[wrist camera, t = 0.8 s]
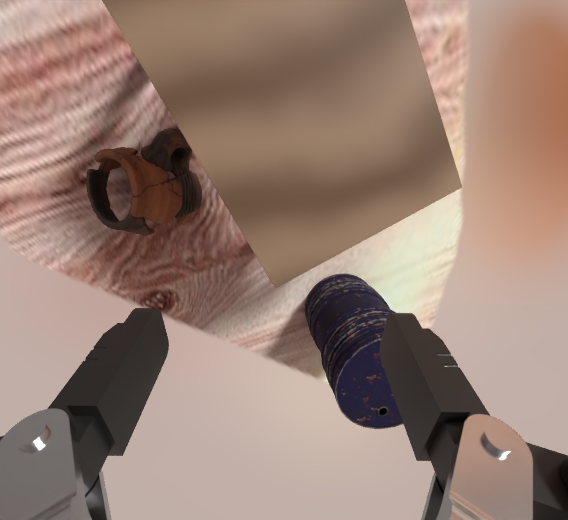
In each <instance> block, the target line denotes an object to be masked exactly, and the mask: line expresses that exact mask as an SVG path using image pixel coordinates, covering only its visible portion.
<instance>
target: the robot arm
mask: <svg viewBox="0 0 568 520" xmlns="http://www.w3.org/2000/svg"><path fill="white" fill-rule="evenodd" d="M168 347H169V342H168V337H167V333H166V329H165V325H164V321H163V317H162V314H161V311H160V310H159V309H156V308H135V309H134V310H133V311H132V312H131V314H130V315H129V316H128V318H127V319H126V321H125V322H124V323H117V324H116V325H115V326H113V327H112V328H111V329H110V330H108V331H107V332H106V333H104V334H103V335H102V337H101V338H100V340H99V341H98V342H97V343H96V345H95V346H94V349H93V350H91V352H90V353H89V354H88V356H87V357H86V360H85V361H83V362H82V364H81V365H80V366H79V368H78V369H77V370H76V372H75V373H74V374H73V376H72V377H71V378H70V380H69V381H68V382H67V384H66V385H65V386H64V388H63V389H62V390H61V392H60V393H59V394H58V396H57V397H56V399H55V400H54V401H53V402H52V404H51V405H50V406H49V407H48V409H45V410H42V411H39V412H36V413H34V414H32V415H30V416H28V417H26V418H25V419H23V420H21V421H20V422H19V423H17V424H16V425H15V426H14V427H12V428H11V429H10V430H9V431H8V432H7V433H6V434H5V436H2V437H0V520H111V515H110V510H109V504H108V499H107V493H106V488H105V482H104V477H103V473H102V470H101V468H102V466H103V464H104V462H105V460H106V458H107V456H109V455H110V456H111V455H112V456H123V454H124V451H125V449H126V447H127V445H128V442H129V440H130V438H131V435H132V433H133V431H134V429H135V427H136V424H137V422H138V420H139V418H140V416H141V413H142V411H143V409H144V406H145V404H146V402H147V399H148V397H149V395H150V393H151V391H152V389H153V386H154V384H155V382H156V380H157V377H158V375H159V373H160V371H161V368H162V366H163V364H164V361H165V359H166V357H167V353H168ZM380 358H381V362H382V365H383V368H384V370H385V373H386V376H387V379H388V382H389V384H390V387H391V390H392V393H393V395H394V398H395V401H396V404H397V407H398V409H399V412H400V415H401V418H402V421H403V423H404V426H405V429H406V432H407V435H408V437H409V440H410V443H411V446H412V448H413V451H414V454H415V457H416V460H417V461H431V463H432V465H433V468H434V470H435V473H434V475H433V478H432V482H431V486H430V490H429V493H428V496H427V500H426V504H425V508H424V511H423V515H422V519H421V520H568V456H567V455H564V454H561V453H558V452H555V451H552V450H548V449H545V448H542V447H539V446H536V445H532V444H530V443H527V442H525V441H524V440H523V439H522V437H521V436H520V435H518V433H517V432H516V431H515V430H514V429H512V428H511V427H510V426H509V425H507V424H506V423H504V422H502V421H501V420H499V419H497V418H494V417H492V416H490V414H489V413H488V411H487V410H486V409H485V407H484V405H483V404H482V402H481V400H480V399H479V397H478V396H477V394H476V393H475V391H474V389H473V388H472V386H471V385H470V383H469V382H468V380H467V379H466V377H465V375H464V374H463V372H462V371H461V369H460V368H458V364H457V363H456V361H455V360H454V358H453V357H452V356H451V353H450V352H449V350H448V348H447V347H446V345H445V344H444V342H443V341H442V340H441V339H440V338H439V337H438V336H437V335H436V334H435V333H433V332H432V331H431V330H430V329H422V327H421V325H420V324H419V322H418V320H417V319H416V317H415V315H414V314H412V313H389V314H388V316H387V320H386V323H385V327H384V331H383V335H382V338H381V342H380Z"/></svg>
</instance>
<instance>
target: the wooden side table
mask: <svg viewBox="0 0 568 520" xmlns="http://www.w3.org/2000/svg"><path fill="white" fill-rule="evenodd" d="M102 1H103V3H104V4H105V6H106V8H107V9H108V11H109V13H110V14H111V16H112V17H113V19H114V21H115V22H116V24H117V26H118V27H119V29H120V31H121V32H122V34H123V36H124V37H125V39H126V41H127V42H128V44H129V46H130V47H131V49H132V51H133V52H134V54H135V56H136V57H137V59H138V61H139V62H140V64H141V66H142V67H143V69H144V71H145V72H146V74H147V76H148V77H149V79H150V81H151V82H152V84H153V86H154V87H155V89H156V91H157V92H158V94H159V96H160V97H161V99H162V101H163V102H164V104H165V106H166V107H167V109H168V111H169V112H170V114H171V115H172V117H173V119H174V120H175V122H176V124H177V125H178V127H179V129H180V130H181V132H182V134H183V135H184V137H185V139H186V140H187V142H188V144H189V145H190V147H191V149H192V150H193V152H194V154H195V155H196V157H197V159H198V160H199V162H200V164H201V165H202V167H203V169H204V170H205V172H206V174H207V175H208V177H209V179H210V180H211V182H212V184H213V185H214V187H215V189H216V190H217V192H218V194H219V195H220V197H221V199H222V200H223V202H224V204H225V205H226V207H227V208H228V210H229V212H230V213H231V215H232V217H233V218H234V220H235V222H236V223H237V225H238V227H239V228H240V230H241V232H242V233H243V235H244V237H245V238H246V240H247V242H248V243H249V245H250V247H251V248H252V250H253V252H254V253H255V255H256V257H257V258H258V260H259V262H260V263H261V265H262V267H263V268H264V270H265V272H266V273H267V275H268V277H269V278H270V280H271V282H272V283H273V285H274V287H275V288H277V287H279V286H281V285H282V284H284V283H286V282H288V281H290V280H292V279H294V278H295V277H297V276H299V275H301V274H303V273H305V272H306V271H308V270H310V269H312V268H314V267H316V266H318V265H319V264H321V263H323V262H325V261H327V260H329V259H330V258H332V257H334V256H336V255H338V254H340V253H342V252H343V251H345V250H347V249H349V248H351V247H353V246H354V245H356V244H358V243H360V242H362V241H364V240H366V239H367V238H369V237H371V236H373V235H375V234H377V233H378V232H380V231H382V230H384V229H386V228H388V227H390V226H391V225H393V224H395V223H397V222H399V221H401V220H402V219H404V218H406V217H408V216H410V215H412V214H414V213H415V212H417V211H419V210H421V209H423V208H425V207H426V206H428V205H430V204H432V203H434V202H436V201H438V200H439V199H441V198H443V197H445V196H447V195H449V194H451V193H452V192H454V191H456V190H458V189H460V188H462V185H461V181H460V178H459V175H458V172H457V168H456V165H455V162H454V159H453V155H452V152H451V149H450V146H449V142H448V139H447V136H446V133H445V129H444V126H443V123H442V120H441V116H440V113H439V110H438V107H437V103H436V100H435V97H434V93H433V90H432V87H431V84H430V80H429V77H428V74H427V71H426V67H425V64H424V61H423V58H422V54H421V51H420V48H419V45H418V41H417V38H416V35H415V32H414V28H413V25H412V22H411V19H410V15H409V12H408V9H407V6H406V2H405V0H102Z"/></svg>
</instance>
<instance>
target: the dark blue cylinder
mask: <svg viewBox="0 0 568 520" xmlns="http://www.w3.org/2000/svg"><path fill="white" fill-rule="evenodd" d="M389 313H396V312H394V311H392V310H390V308H389V306H388V305H387V303H386V302H385V301H384V299H383V298H382V297H381V296H380V295H379V294H378V293H377V292H376V291H375V290H374V289H373V288H372V287H371V286H369V285H368V284H367V283H366V282H365V281H363V280H362V279H361V278H359V277H357V276H354V275H350V274H336V275H332V276H329V277H327V278H325V279H323V280H322V281H320V282H319V283H318V284H316V285H315V286H314V288H313V289H312V290H311V292H310V293H309V295H308V297H307V300H306V304H305V315H306V319H307V322H308V326H309V329H310V332H311V335H312V337H313V339H314V341H315V343H316V345H317V347H318V349H319V350H320V351H321V357H322V365H323V368H324V371H325V373H326V376H327V379H328V382H329V385H330V387H331V388H332V390H333V393H334V395H335V398H336V401H337V404H338V406H339V408H340V410H341V411H342V413H343V414H344V415H345V416H346V417H347V418H348V419H349V420H350V421H352V422H354V423H355V424H357V425H360V426H363V427H367V428H374V429H385V428H391V427H396V426H398V425H402V424H404V423H403V421H402V418H401V415H400V412H399V409H398V407H397V404H396V401H395V398H394V395H393V393H392V390H391V387H390V384H389V382H388V379H387V376H386V373H385V370H384V368H383V365H382V362H381V358H380V342H381V338H382V335H383V331H384V327H385V323H386V320H387V316H388V314H389Z"/></svg>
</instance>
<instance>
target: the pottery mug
mask: <svg viewBox="0 0 568 520" xmlns="http://www.w3.org/2000/svg"><path fill="white" fill-rule="evenodd" d="M136 153H137V150H136V149H133V148H125V147H120V148H116V149H104V150H100V151H99V152H98V153H97V154H96V155H95V156H94V157H95V160H96V161H97V162H99V163H100V166H99V169H98V170H94V169H89V170H88V171H87V179H86V181H87V192H88V197H89V200H90V202H91V205H92V208H93V211H94V212H95V213H96V215H97V217H98V218H99V219H100V221H101V222H102V223H103V224H104V225H106V226H107V227H110V228H112V229H116V230H124V231H128V232H133V233H136V234H143V235H150V234H153V233H154V232H155V231H154V230H153V229H151V228H149V227H148V226H147V224H146V222H145V218H147V219H148V220H151V221H153V222H156V223H158V224H161V225H163V224H167V223H169V222H171V220H172V219H173V218H174V217H175V218H178V217H181V216H182V218H181V219H180V220H179V221H178V224H179V225H184V224H185V223H187V222H189V221H191V220H192V219H193V218H194V217H195V216H196V214H197V212H198V210H199V208H200V205H201V200H202V190H201V185H200V183H199V180H198V177H197V175H196V174H195V173H193V172H192V171H190V170H189V160H190V157H191V155H192V149H191V147H190V145H189V144H188V142H187V140H186V139H185V137H184V135H183V134H182V132H181V130H180V129H166V130H163V131H161V132H160V133H159V134H158V135H157V136H156V137H155V138H154V140H153V142H152V143H151V144H150V145H148V146H145V147H143V148H142V149H141V155H142V156H143V157H140V156H135V155H136ZM121 165H122V166H123V168H124V169H125V172H126V173H127V176H128V178H129V181H130V185H131V191H132V203H131V208H130V211H129V214H128V215H127V217H126V218H125V219H124V220H122V221H119V220H118V219H117V217H116V216H115V214H114V213H113V211H112V210H111V209H110V202H109V199H108V195H107V190H106V187H107V180H108V176H109V173H110V171H111V170H113V169H116V168H119V167H121ZM168 172H171V173H173V174H174V175H175V176H176V177H175V178H173V179H170V180H169V174H168Z"/></svg>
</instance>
